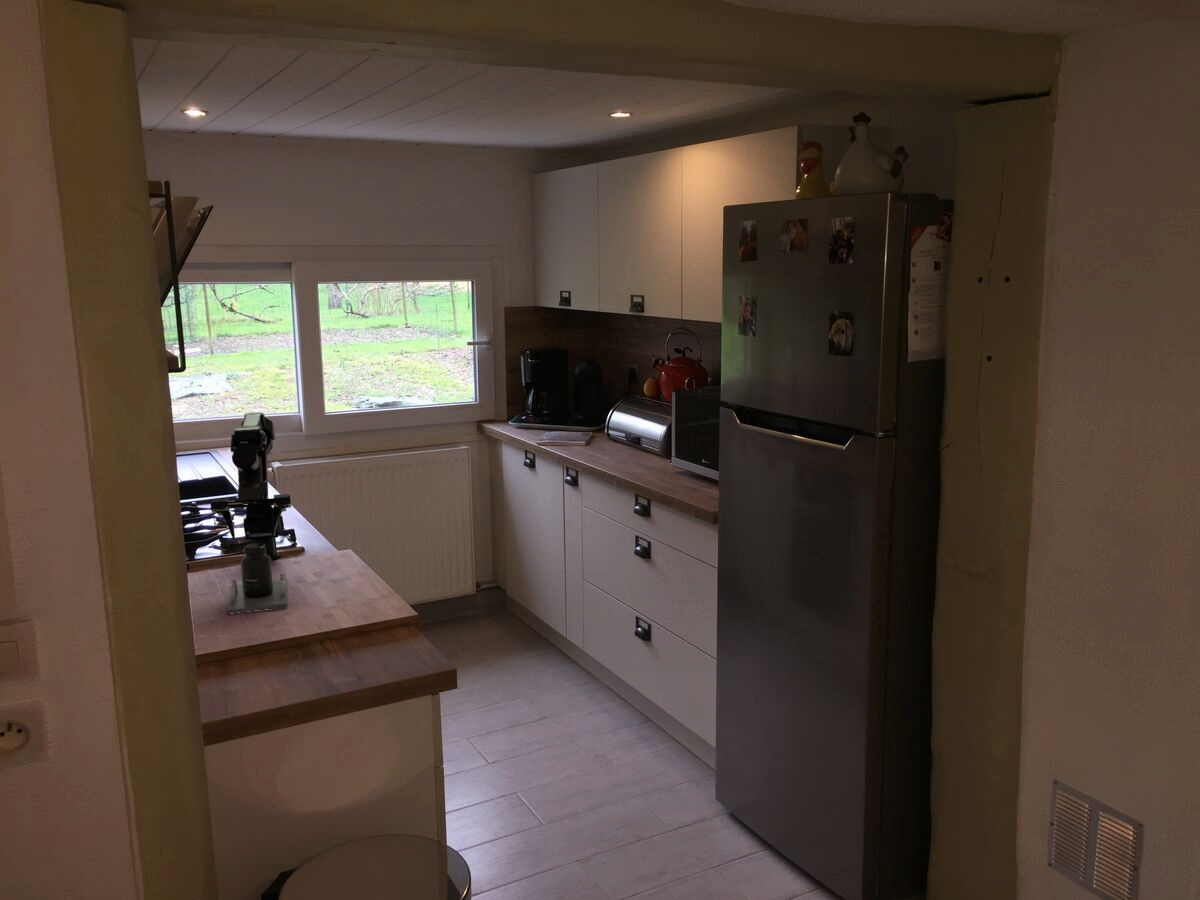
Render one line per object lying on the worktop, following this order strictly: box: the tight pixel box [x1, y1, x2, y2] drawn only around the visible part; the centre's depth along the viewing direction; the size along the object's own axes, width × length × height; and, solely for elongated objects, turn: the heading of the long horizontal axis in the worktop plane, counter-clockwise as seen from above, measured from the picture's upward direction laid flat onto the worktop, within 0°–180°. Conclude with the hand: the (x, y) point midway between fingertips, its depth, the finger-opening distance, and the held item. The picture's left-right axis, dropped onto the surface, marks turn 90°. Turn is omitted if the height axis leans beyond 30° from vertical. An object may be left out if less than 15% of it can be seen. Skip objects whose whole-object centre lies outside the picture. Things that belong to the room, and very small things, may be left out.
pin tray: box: [227, 572, 289, 615], centre depth 231 cm, size 18×13×5 cm
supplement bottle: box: [240, 543, 274, 598], centre depth 231 cm, size 7×7×12 cm
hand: (253, 537), depth 241 cm, fingers open, 9 cm apart
